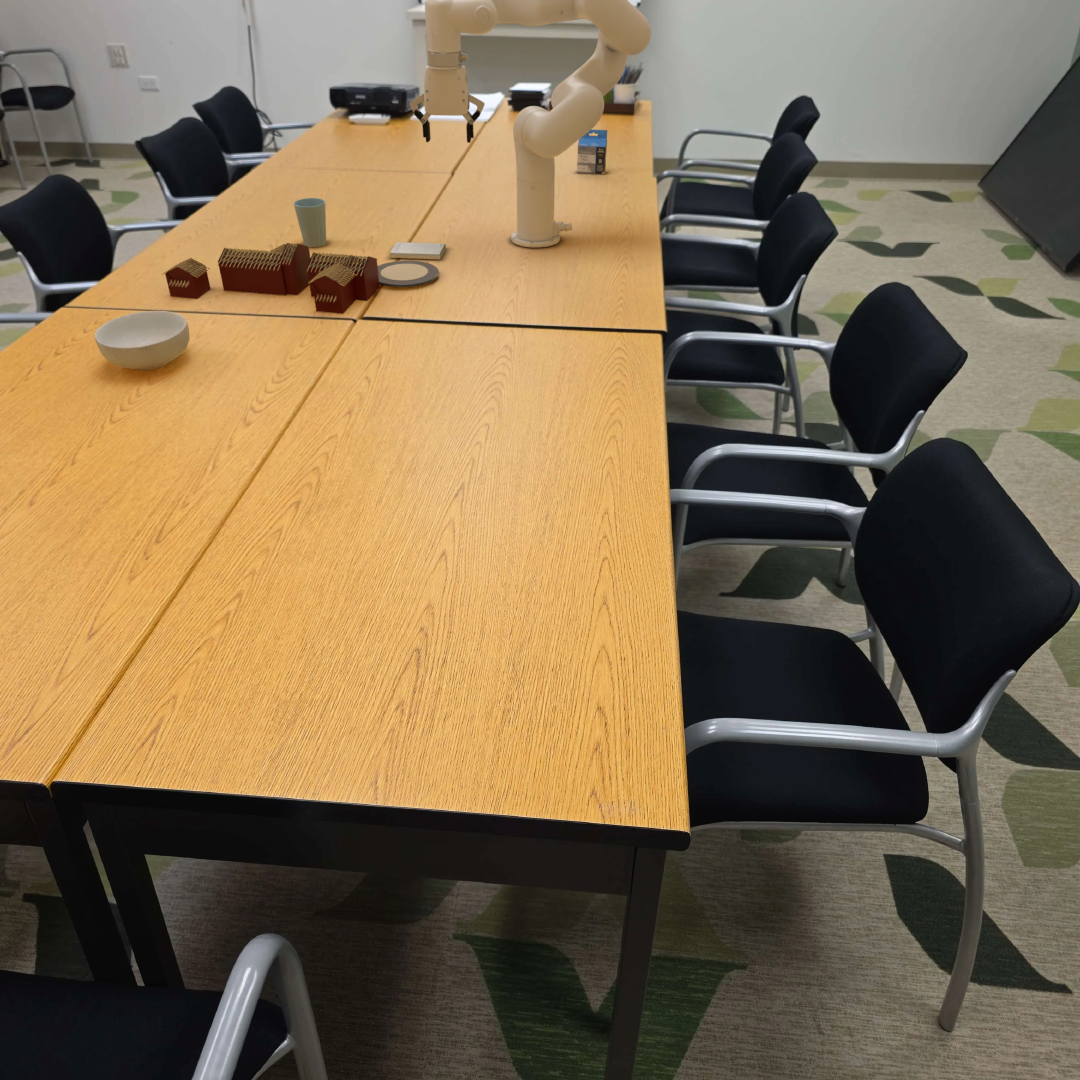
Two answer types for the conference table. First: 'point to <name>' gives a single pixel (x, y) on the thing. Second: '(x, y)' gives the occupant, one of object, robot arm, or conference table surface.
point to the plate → (406, 273)
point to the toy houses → (283, 275)
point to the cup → (312, 221)
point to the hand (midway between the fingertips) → (448, 141)
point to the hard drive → (418, 250)
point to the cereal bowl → (143, 339)
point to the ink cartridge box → (592, 153)
